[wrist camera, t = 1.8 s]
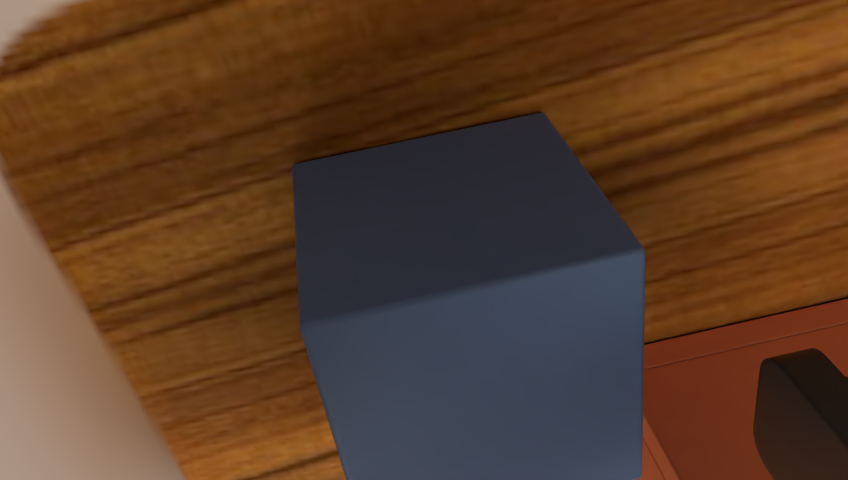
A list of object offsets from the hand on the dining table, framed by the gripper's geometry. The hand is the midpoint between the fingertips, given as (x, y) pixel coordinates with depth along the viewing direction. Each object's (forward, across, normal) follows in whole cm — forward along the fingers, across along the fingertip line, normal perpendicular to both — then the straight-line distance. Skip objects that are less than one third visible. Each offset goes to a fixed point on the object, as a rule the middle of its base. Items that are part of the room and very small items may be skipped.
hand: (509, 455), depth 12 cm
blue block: (+6, 0, 0) cm, 6 cm away
